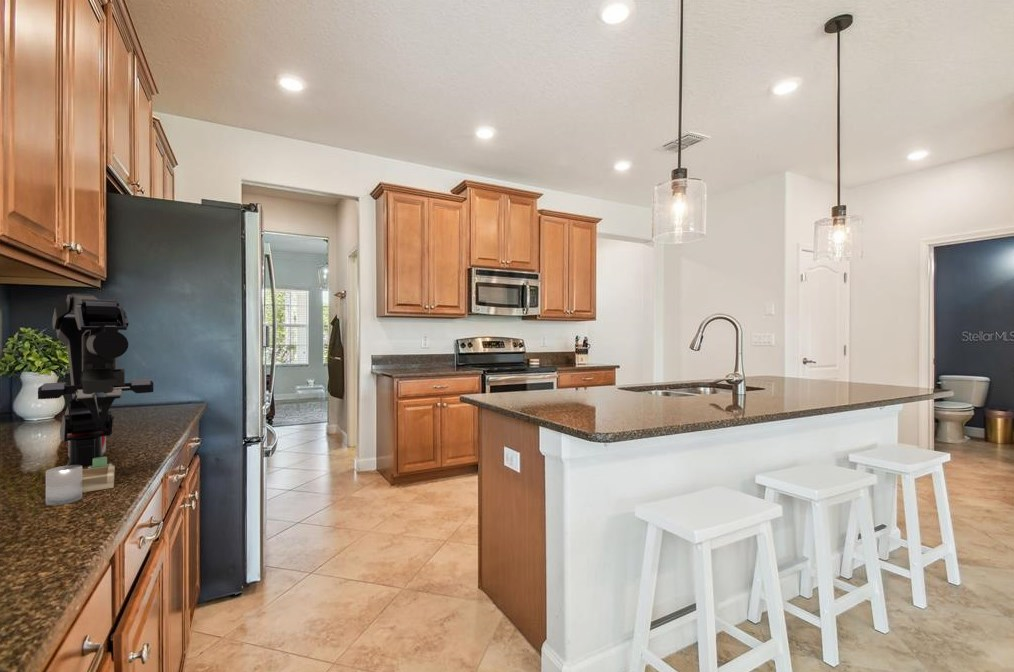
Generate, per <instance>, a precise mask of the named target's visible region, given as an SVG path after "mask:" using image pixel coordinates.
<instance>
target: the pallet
mask: <svg viewBox="0 0 1014 672" xmlns="http://www.w3.org/2000/svg"><path fill="white" fill-rule="evenodd" d="M114 486H115V464H114V465H113V464H112V465H111V466H104V467H97V468H89V469H88V468H82V493H86V492H93V491H101V490H106V489H107V490H108V489H112V488H113V489H114Z"/></svg>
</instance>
